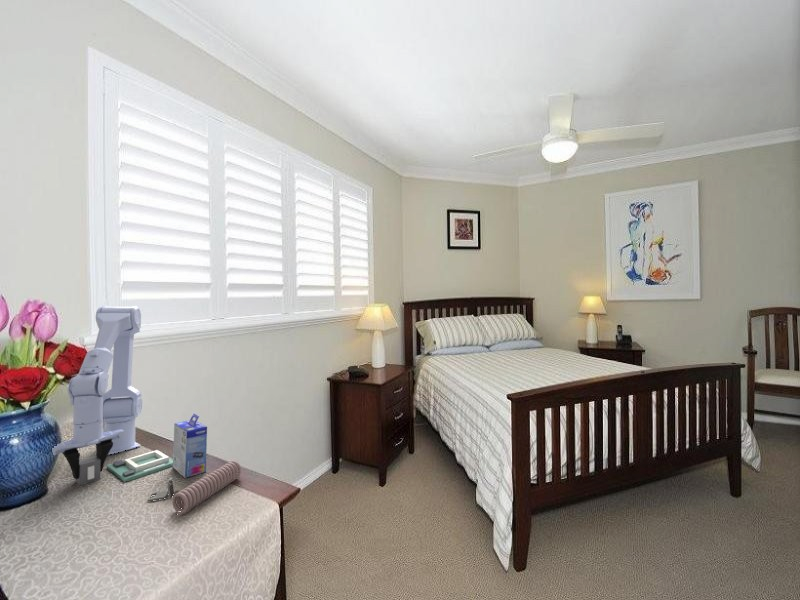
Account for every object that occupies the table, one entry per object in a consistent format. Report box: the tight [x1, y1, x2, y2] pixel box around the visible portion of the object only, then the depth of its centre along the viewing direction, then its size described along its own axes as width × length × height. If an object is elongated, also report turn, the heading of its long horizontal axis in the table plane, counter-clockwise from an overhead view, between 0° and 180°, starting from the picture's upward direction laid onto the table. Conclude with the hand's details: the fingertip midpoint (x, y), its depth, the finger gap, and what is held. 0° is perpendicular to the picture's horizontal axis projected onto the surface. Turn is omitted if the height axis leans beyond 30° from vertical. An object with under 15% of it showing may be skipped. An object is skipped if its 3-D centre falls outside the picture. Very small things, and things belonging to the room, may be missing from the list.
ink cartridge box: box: [172, 413, 208, 478], centre depth 98 cm, size 10×6×14 cm, turn 49°
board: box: [106, 449, 173, 483], centre depth 99 cm, size 13×12×2 cm
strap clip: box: [147, 476, 182, 502], centre depth 84 cm, size 8×3×4 cm, turn 111°
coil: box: [171, 460, 242, 516], centre depth 85 cm, size 5×5×18 cm
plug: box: [74, 455, 101, 486], centre depth 91 cm, size 5×4×5 cm
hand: (87, 474), depth 92 cm, fingers closed on plug, 4 cm apart
